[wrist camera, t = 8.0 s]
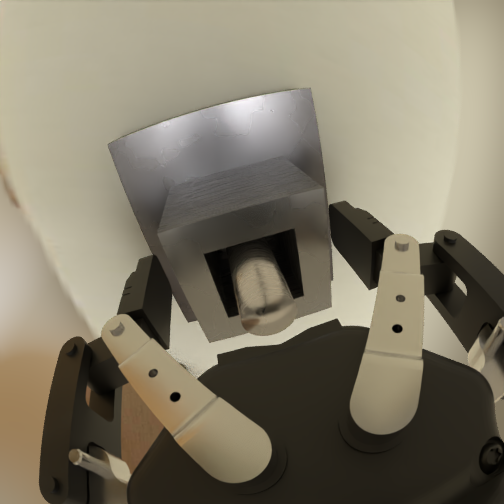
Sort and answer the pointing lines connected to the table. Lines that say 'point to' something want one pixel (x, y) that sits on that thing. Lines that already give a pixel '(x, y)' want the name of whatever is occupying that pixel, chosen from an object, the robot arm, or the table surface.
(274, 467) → the robot arm
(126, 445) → the wooden block
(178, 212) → the collar
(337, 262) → the table surface
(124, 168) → the shaft block
